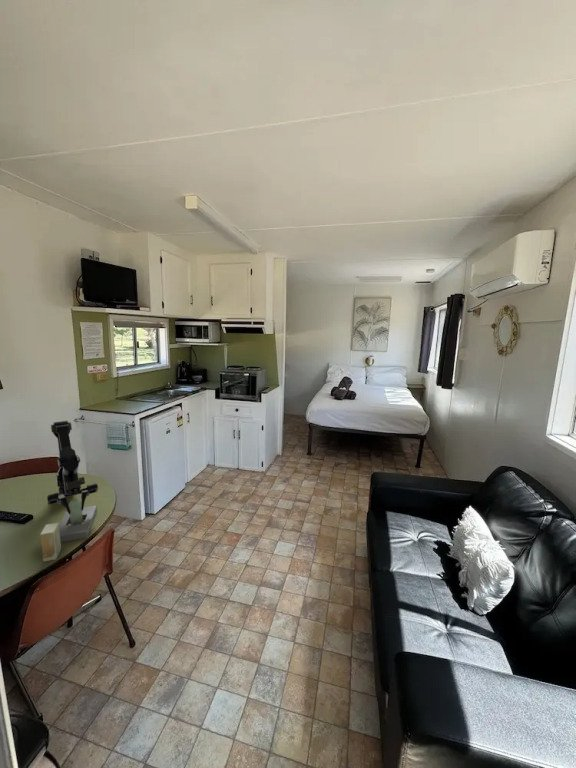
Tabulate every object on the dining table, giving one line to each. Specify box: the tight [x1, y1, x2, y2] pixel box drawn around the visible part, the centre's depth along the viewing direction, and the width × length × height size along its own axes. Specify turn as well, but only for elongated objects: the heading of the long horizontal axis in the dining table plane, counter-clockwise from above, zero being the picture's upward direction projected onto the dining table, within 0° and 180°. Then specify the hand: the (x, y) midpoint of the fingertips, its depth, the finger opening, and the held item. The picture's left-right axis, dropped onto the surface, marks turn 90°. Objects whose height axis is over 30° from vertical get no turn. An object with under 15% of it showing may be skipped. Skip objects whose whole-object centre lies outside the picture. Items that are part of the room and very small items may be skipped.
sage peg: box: [68, 498, 83, 525], centre depth 136 cm, size 4×4×12 cm
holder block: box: [59, 505, 98, 543], centre depth 137 cm, size 20×12×3 cm, turn 21°
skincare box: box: [39, 522, 62, 563], centre depth 119 cm, size 6×4×12 cm
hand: (76, 511), depth 135 cm, fingers closed on sage peg, 4 cm apart
